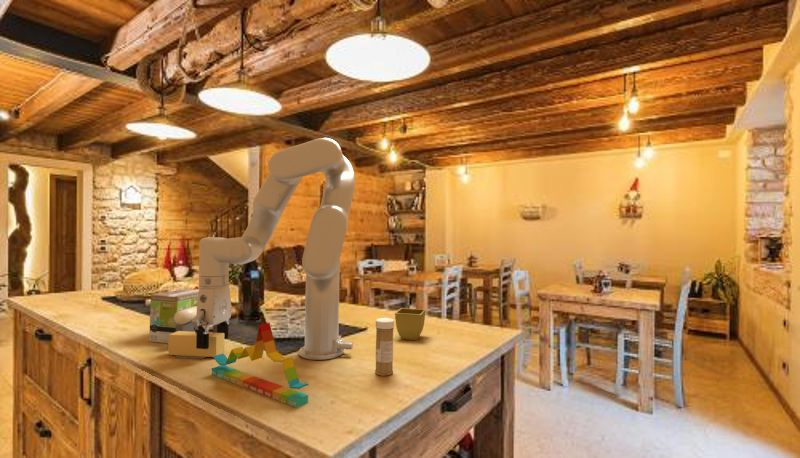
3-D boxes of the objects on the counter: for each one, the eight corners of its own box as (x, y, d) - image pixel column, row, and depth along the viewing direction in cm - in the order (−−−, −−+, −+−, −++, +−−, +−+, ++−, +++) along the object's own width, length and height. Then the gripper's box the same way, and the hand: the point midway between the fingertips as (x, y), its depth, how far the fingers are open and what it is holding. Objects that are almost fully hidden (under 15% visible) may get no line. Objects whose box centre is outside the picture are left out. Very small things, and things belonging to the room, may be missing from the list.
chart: (210, 376, 96) (211, 314, 96) (222, 372, 99) (223, 312, 99) (295, 409, 79) (297, 334, 79) (308, 404, 82) (309, 331, 82)
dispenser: (190, 340, 125) (191, 305, 125) (221, 342, 124) (221, 306, 124) (172, 348, 116) (172, 311, 116) (204, 350, 115) (205, 312, 115)
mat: (215, 352, 114) (215, 350, 114) (203, 359, 108) (203, 357, 108) (189, 351, 114) (189, 349, 114) (175, 357, 108) (175, 356, 108)
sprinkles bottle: (374, 370, 101) (375, 317, 101) (392, 369, 102) (393, 317, 102) (375, 376, 97) (376, 321, 97) (394, 376, 97) (394, 321, 97)
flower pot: (393, 340, 128) (394, 312, 128) (400, 333, 137) (400, 307, 137) (420, 342, 126) (421, 314, 126) (425, 335, 135) (425, 309, 135)
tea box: (176, 344, 121) (177, 295, 121) (148, 342, 123) (149, 294, 123) (209, 332, 135) (210, 288, 135) (184, 330, 137) (184, 287, 137)
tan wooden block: (224, 352, 112) (224, 333, 112) (216, 357, 108) (216, 336, 108) (177, 350, 114) (178, 331, 114) (168, 354, 110) (168, 334, 110)
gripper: (208, 286, 102) (207, 353, 102) (242, 278, 119) (241, 335, 119) (181, 285, 102) (180, 352, 102) (218, 277, 119) (217, 334, 119)
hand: (213, 343), depth 110 cm, fingers open, 9 cm apart
